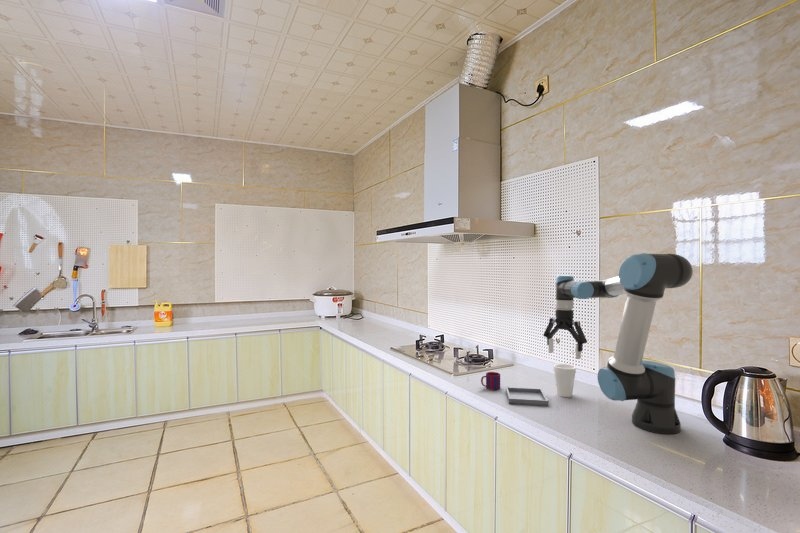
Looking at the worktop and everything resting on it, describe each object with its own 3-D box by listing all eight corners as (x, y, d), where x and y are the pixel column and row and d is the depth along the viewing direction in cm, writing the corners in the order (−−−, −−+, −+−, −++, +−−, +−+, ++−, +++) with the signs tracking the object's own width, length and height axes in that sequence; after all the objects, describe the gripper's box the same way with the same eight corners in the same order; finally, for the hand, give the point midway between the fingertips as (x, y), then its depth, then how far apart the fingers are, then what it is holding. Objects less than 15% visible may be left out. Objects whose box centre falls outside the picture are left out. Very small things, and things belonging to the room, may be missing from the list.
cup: (502, 389, 186) (502, 375, 186) (484, 391, 183) (484, 376, 183) (495, 385, 192) (495, 371, 192) (477, 387, 189) (477, 373, 189)
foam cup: (569, 399, 171) (569, 370, 171) (549, 394, 178) (549, 366, 178) (579, 395, 177) (579, 366, 177) (560, 390, 184) (560, 362, 184)
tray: (548, 406, 164) (548, 400, 164) (509, 403, 167) (509, 398, 167) (541, 393, 180) (541, 388, 179) (505, 391, 182) (505, 386, 182)
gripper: (595, 311, 169) (595, 359, 170) (545, 305, 190) (545, 349, 190) (586, 312, 165) (585, 362, 165) (535, 306, 186) (535, 351, 186)
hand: (564, 355), depth 178 cm, fingers open, 13 cm apart
